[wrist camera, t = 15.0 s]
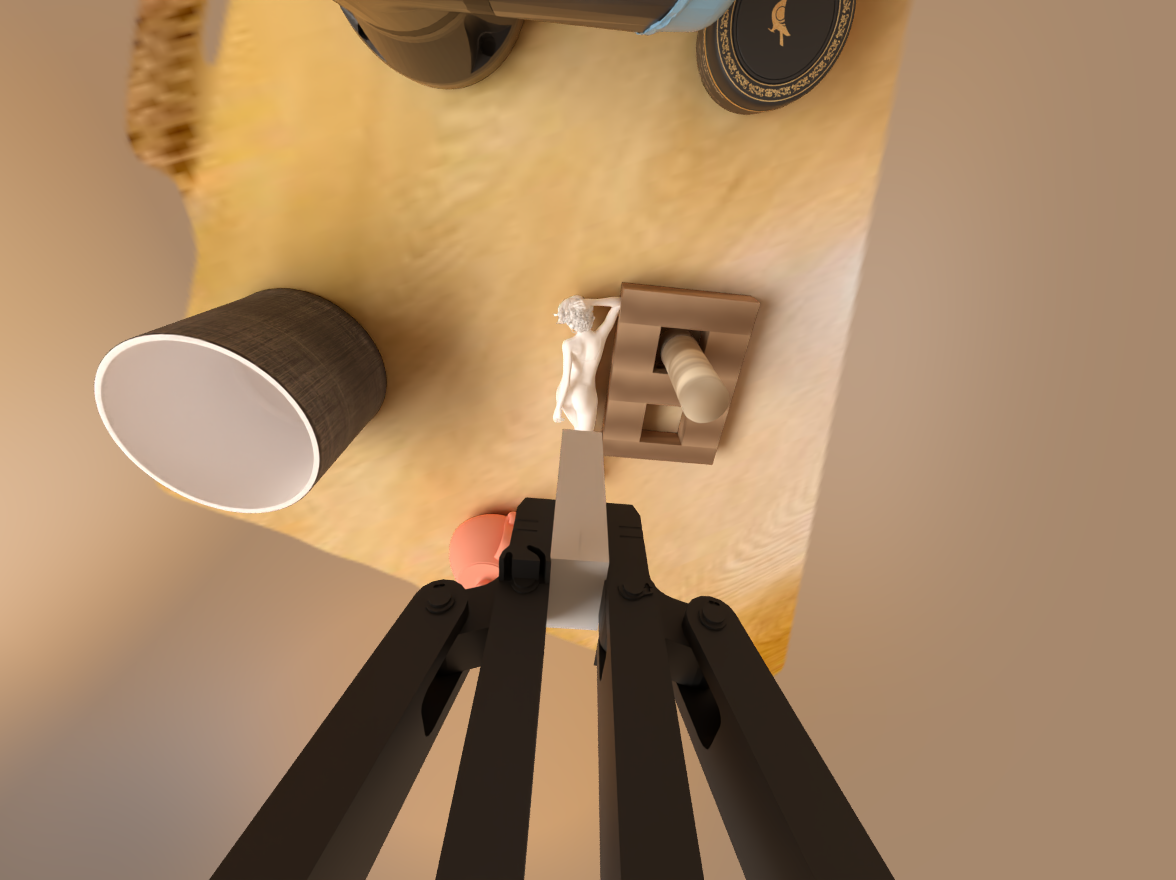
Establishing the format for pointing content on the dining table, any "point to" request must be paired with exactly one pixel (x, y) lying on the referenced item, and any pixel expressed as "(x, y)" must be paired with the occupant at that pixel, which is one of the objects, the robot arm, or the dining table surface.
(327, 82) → the dining table surface
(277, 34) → the dining table surface
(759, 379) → the dining table surface
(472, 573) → the sugar bowl
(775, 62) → the jar
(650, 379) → the board
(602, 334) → the figurine
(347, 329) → the planter
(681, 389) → the leg
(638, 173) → the dining table surface
